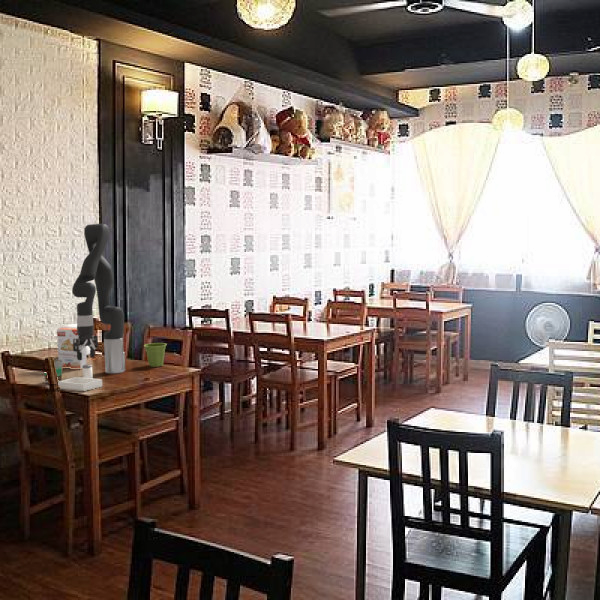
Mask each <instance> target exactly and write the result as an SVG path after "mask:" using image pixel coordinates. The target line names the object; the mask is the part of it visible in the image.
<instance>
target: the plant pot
mask: <svg viewBox="0 0 600 600" xmlns="http://www.w3.org/2000/svg"><path fill="white" fill-rule="evenodd" d="M167 344H168V343H164V342H152V343H146V344H144V345H143V347H144V349H145V351H146V356H147V362H148V366H149V367H152V368H155V367H156V368H159V367H163V366H164V360H165V354H166V353H165V350H166V347H167Z"/></svg>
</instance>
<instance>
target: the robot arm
mask: <svg viewBox="0 0 600 600" xmlns="http://www.w3.org/2000/svg"><path fill="white" fill-rule="evenodd" d="M110 233H111V231H110V228H109V226H108V225H107V224H105V223H94V224H93V223H92V224H87V225H85V227H84V239H85V243H86V248H87V251H88V255H87V256H86V257H85V259H84V260H83V263H82V264H81V265H82V266H81V269H80V272H79V275H78V276H77V278H76V280H75V281H74V282H73V285H72V291H71V292H72V294H73V297H76V298H85V300H84V301H82V302H79V303H77V305H76V324H77V335H78V336H79V337H78V339H76V338H74V339H73V351H75V352H77V359H78V360H82V349H83V348H84V347H85V346H89V348H90V349H91V350H90V355H89V357H90V358H91V359H93V358H95V356H96V350H97V349H98V348H99V339H98V335H97V334H96V335H94V334H95V333H94V331H95V330H94V329H95V328H94V315H93V305H94V299H95V297H96V296H97V303H98V315H99V320H100V321H101V323H102V324H104V325H108V326H110V329H109V330H108V331H106V332H104V333H103V344H104V345H103V346H104V347H103V348H104V349H103V350H104V366H105V367H104V369H105V373H106V374H121V373H124V372H125V371H126V355H125V351H124V332H125V313H124V311H123V309H122V308H121V307H120V306H111V301H110V293H111V290H112V288H113V285H114V280H115V279H114V275H113V268H112V266H111V264H110V263H109V262H108V261H107V259H106V258H105V256H104V255H103V254H104V251H105V249H106V246H107V244H108V241H109V240H110ZM93 280H94V282H92V281H93ZM96 294H97V295H96ZM80 345H81V346H80ZM79 349H80V350H79Z"/></svg>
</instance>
